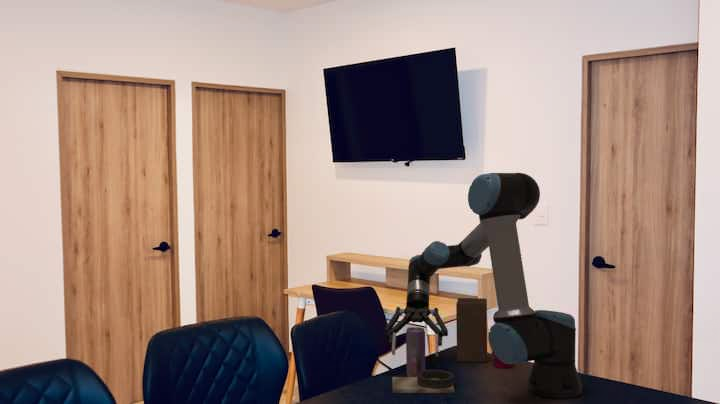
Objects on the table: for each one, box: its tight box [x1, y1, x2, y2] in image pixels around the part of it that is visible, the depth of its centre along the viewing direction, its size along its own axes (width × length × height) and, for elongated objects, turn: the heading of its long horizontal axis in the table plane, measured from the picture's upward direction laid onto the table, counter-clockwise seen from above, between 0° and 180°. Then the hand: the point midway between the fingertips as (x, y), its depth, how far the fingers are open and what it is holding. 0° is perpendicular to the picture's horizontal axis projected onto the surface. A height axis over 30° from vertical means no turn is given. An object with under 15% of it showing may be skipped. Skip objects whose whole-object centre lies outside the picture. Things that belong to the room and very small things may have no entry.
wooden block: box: [455, 297, 488, 363], centre depth 232 cm, size 10×10×20 cm
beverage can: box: [405, 326, 426, 377], centre depth 213 cm, size 6×6×15 cm
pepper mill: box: [491, 310, 513, 369], centre depth 223 cm, size 7×7×20 cm
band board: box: [391, 369, 455, 394], centre depth 203 cm, size 18×12×3 cm, turn 88°
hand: (414, 353), depth 212 cm, fingers open, 13 cm apart
